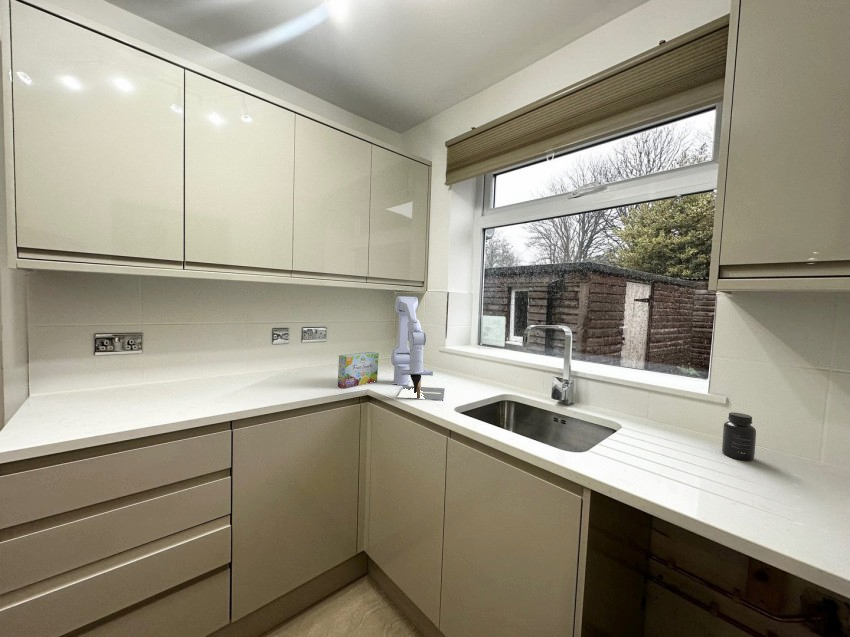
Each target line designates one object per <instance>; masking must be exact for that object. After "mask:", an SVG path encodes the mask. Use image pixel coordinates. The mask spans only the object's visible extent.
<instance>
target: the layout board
mask: <svg viewBox="0 0 850 637" xmlns="http://www.w3.org/2000/svg"><path fill="white" fill-rule="evenodd" d="M419 384H420V387H421V391H423V392H420V393H422V394H423V395H424V396H423V397H424V398H425V399H432V400H431V401H438V400H442V402H443V401H444V397H445V387H443V388H442V387H431V386H428V387H427V386H422V378H421V379H420V381H419ZM402 387H403V389H405V388H406V389H408V390H410V389H411V388H412V389H413V388H414V385H413V386H410V385H402ZM421 396H422V395H421Z"/></svg>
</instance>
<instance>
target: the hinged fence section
mask: <svg viewBox="0 0 850 637" xmlns="http://www.w3.org/2000/svg"><path fill="white" fill-rule="evenodd" d="M421 387H422V386H421ZM421 387H420V384H419V383H418V386H417V389H416V392H417V398H420V390H421Z"/></svg>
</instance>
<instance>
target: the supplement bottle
mask: <svg viewBox="0 0 850 637" xmlns="http://www.w3.org/2000/svg"><path fill="white" fill-rule="evenodd" d="M727 418H728V420H727V421H725V422H724V423H723V426H722V427H723V430H722V431H723V432H722V445H721V452H722V454H723V455H725V456H726V457H728V458H731V459H734V460H737V461H743V462H752V461H754V460H755V457H756V456H755V455H756V454H755V453H756V441H757V440H756V439H757V429H756V428H755V427H754V426H753V425H752V424H753V416H751V415H749V414H746V413H741V412H734V411H731V412H729V413H728V417H727Z"/></svg>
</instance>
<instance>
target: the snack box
mask: <svg viewBox="0 0 850 637" xmlns="http://www.w3.org/2000/svg"><path fill="white" fill-rule="evenodd" d="M379 355H380V354H379V352H376V351H375V352H374V351H368V352H367V351H366V352H358V353H357V352H356V353H348V354H347V353H346V354H340V355H338V370H337V371H338V372H337V387H339V388H342V389H349V388H353V386H354V387H357V386H358V385H359V386H362V384H364V385H367V384H366V383H368V384H371V383H370V382H373V383H375V382H374V381H377V382H378V376H379V375H378V374H379V373H378V372H379V371H378V370H379Z"/></svg>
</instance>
